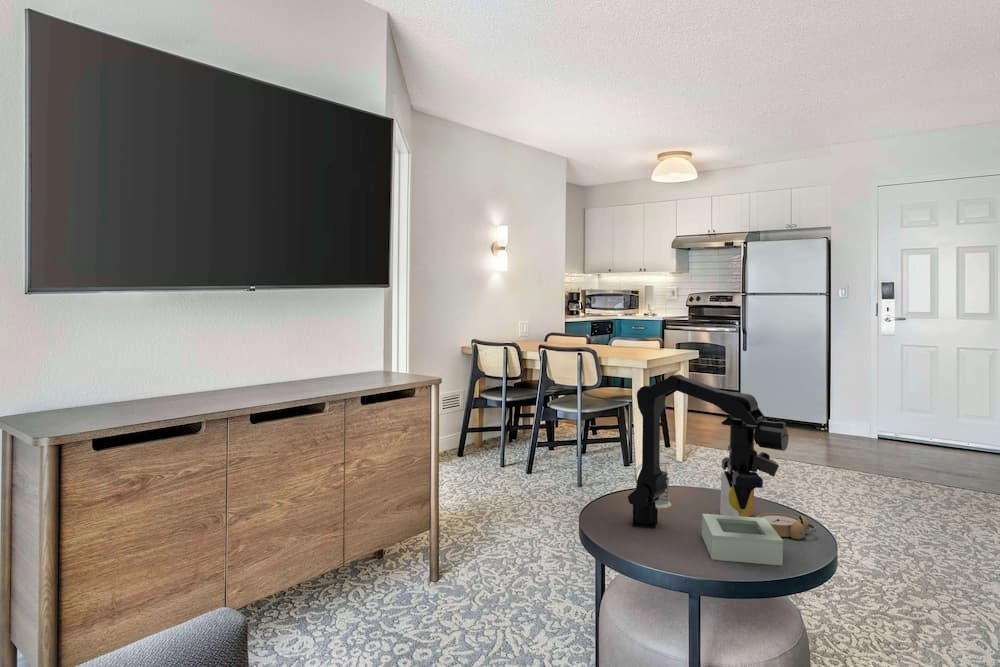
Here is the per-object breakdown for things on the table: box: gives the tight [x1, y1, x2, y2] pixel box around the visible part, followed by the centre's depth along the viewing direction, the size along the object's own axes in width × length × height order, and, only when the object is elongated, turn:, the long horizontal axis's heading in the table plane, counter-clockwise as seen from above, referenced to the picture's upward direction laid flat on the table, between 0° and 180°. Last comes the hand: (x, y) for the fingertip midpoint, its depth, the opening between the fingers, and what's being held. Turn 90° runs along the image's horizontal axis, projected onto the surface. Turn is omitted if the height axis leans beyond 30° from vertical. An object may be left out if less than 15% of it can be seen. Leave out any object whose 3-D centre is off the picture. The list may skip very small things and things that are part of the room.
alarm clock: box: [756, 512, 817, 540], centre depth 161 cm, size 11×5×15 cm
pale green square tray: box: [701, 513, 784, 567], centre depth 148 cm, size 16×16×6 cm
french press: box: [634, 455, 672, 509], centre depth 185 cm, size 10×12×25 cm
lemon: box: [729, 486, 752, 513], centre depth 148 cm, size 6×6×8 cm
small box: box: [719, 470, 755, 517], centre depth 175 cm, size 8×6×13 cm
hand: (740, 505), depth 148 cm, fingers closed on lemon, 5 cm apart
